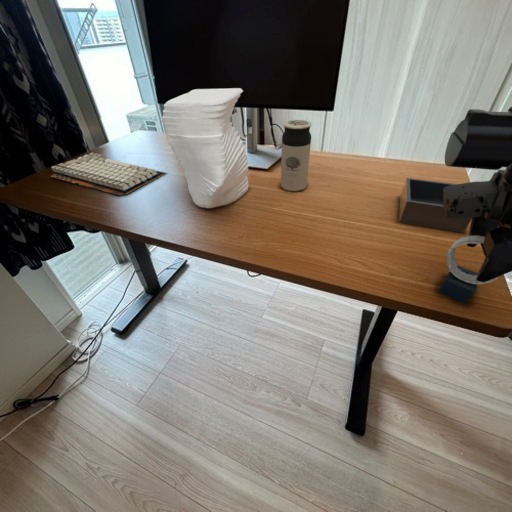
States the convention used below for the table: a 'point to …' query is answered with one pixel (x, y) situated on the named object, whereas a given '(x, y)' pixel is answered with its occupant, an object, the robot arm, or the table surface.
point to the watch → (461, 274)
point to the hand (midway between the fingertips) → (474, 262)
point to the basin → (427, 206)
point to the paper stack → (208, 145)
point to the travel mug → (295, 154)
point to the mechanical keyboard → (105, 174)
